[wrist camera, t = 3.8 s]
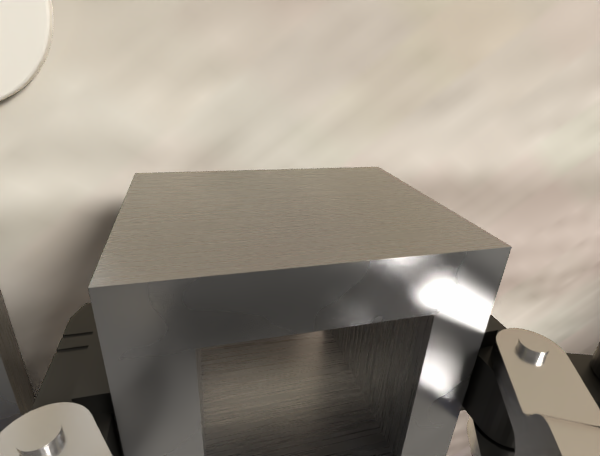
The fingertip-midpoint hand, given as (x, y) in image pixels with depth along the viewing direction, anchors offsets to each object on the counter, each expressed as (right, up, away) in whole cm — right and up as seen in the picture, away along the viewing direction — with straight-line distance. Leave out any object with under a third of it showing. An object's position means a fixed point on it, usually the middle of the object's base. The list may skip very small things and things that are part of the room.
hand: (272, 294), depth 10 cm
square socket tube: (0, 0, +1) cm, 1 cm away
